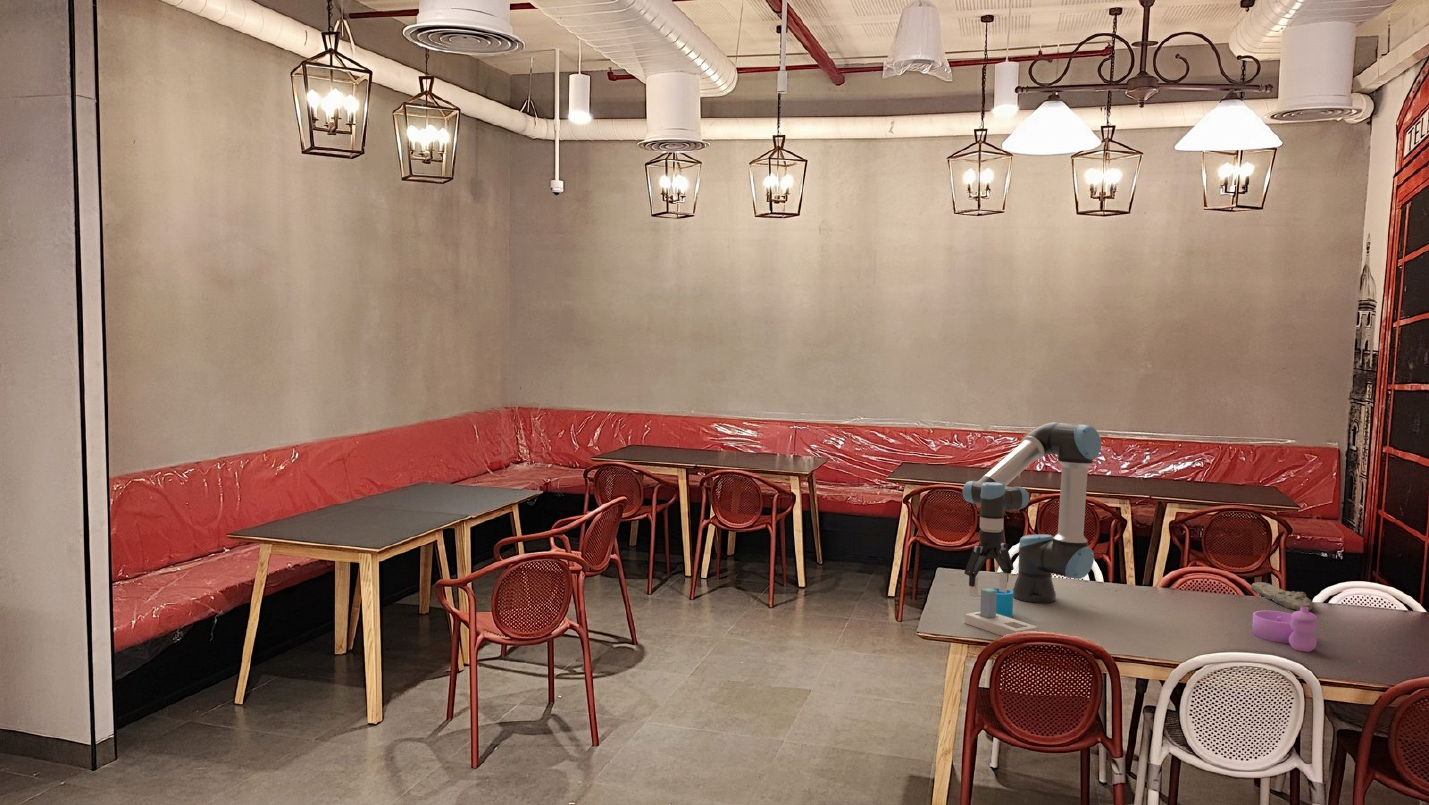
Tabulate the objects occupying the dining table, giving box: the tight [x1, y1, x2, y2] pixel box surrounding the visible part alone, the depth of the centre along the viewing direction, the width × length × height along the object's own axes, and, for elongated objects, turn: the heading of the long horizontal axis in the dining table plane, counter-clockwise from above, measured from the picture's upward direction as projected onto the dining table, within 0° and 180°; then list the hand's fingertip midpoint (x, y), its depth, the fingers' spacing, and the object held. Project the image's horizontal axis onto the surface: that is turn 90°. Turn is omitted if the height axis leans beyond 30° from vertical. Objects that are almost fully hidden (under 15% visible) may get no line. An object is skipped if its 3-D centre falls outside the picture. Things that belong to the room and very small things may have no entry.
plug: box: [979, 587, 997, 619], centre depth 335 cm, size 4×4×12 cm
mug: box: [992, 587, 1014, 618], centre depth 350 cm, size 12×8×8 cm
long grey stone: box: [1250, 581, 1314, 612], centre depth 375 cm, size 35×5×10 cm
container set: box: [1251, 607, 1318, 653], centre depth 324 cm, size 25×15×13 cm, turn 179°
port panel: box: [964, 611, 1039, 637], centre depth 331 cm, size 22×10×3 cm, turn 31°
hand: (988, 594), depth 335 cm, fingers open, 13 cm apart
